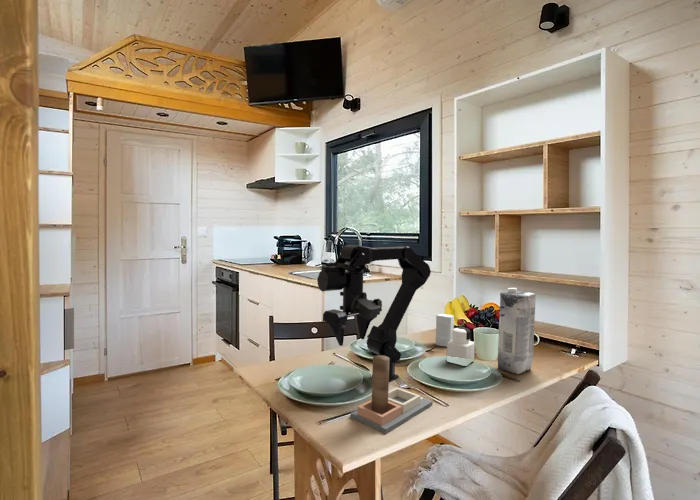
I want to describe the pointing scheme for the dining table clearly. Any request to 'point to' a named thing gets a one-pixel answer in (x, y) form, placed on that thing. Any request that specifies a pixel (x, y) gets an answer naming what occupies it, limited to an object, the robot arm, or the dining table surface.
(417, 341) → the dining table surface
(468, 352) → the medicine bottle
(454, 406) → the dining table surface
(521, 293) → the juice carton
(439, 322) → the skincare box
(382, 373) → the walnut pin
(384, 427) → the board
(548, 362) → the dining table surface
